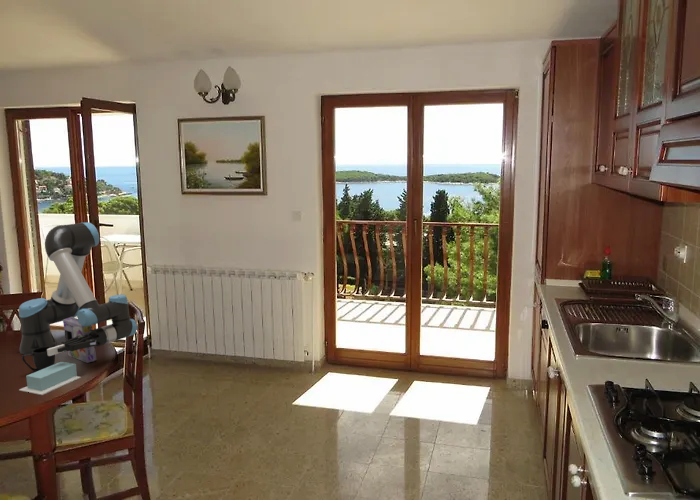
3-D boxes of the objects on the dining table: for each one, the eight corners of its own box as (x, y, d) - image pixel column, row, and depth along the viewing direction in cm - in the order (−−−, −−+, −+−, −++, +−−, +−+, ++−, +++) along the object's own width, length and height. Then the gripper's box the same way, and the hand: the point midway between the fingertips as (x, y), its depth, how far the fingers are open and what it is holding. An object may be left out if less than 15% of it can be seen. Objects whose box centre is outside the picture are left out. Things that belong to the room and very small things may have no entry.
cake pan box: (66, 355, 251) (61, 318, 248) (77, 352, 255) (72, 315, 252) (86, 364, 239) (81, 325, 236) (97, 361, 243) (93, 322, 240)
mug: (23, 372, 232) (20, 350, 230) (55, 365, 238) (53, 344, 237) (25, 378, 225) (22, 356, 224) (58, 371, 232) (55, 350, 230)
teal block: (62, 372, 229) (27, 387, 214) (61, 361, 228) (26, 375, 214) (77, 375, 226) (42, 390, 211) (75, 363, 225) (40, 378, 211)
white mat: (19, 390, 213) (18, 389, 213) (58, 373, 229) (58, 373, 229) (42, 395, 208) (41, 394, 208) (80, 377, 224) (80, 376, 224)
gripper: (112, 346, 236) (58, 364, 217) (94, 341, 243) (40, 358, 224) (110, 329, 235) (56, 346, 216) (92, 325, 242) (38, 341, 223)
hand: (48, 352), depth 220 cm, fingers closed
